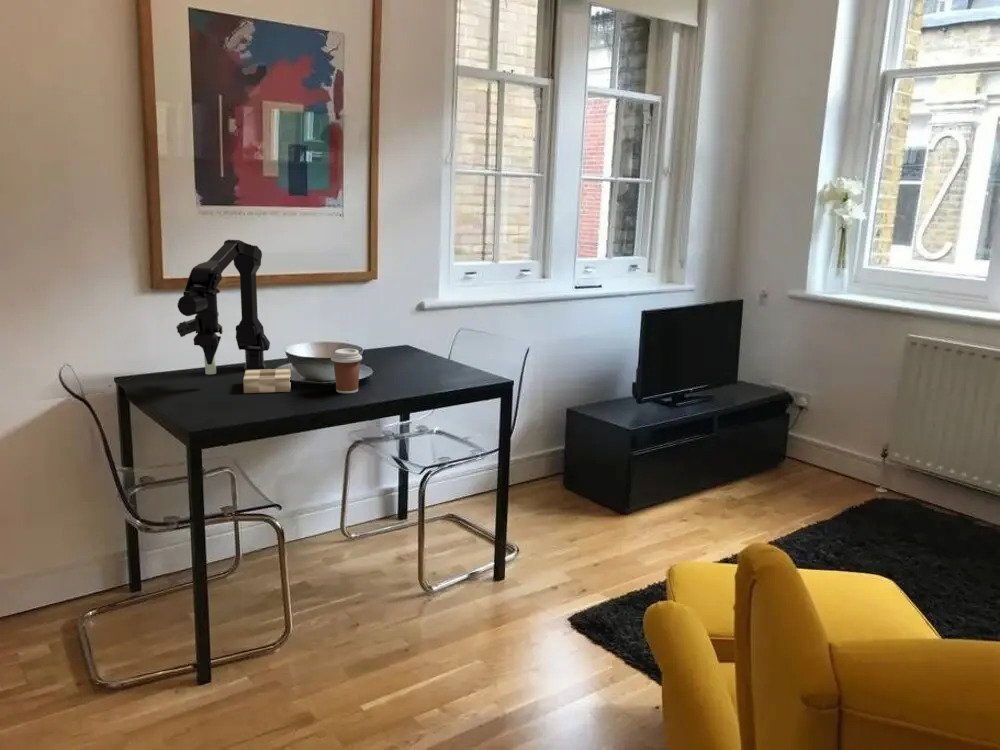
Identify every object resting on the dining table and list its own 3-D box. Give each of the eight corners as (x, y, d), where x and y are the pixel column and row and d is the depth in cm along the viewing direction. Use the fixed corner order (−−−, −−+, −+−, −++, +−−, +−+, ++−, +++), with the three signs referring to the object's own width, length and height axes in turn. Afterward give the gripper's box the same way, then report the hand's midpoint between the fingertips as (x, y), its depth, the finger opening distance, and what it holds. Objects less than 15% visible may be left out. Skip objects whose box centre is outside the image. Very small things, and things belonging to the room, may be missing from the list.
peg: (206, 372, 248) (204, 342, 246) (216, 371, 248) (215, 342, 246) (204, 374, 245) (203, 344, 243) (215, 374, 246) (213, 344, 243)
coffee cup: (365, 387, 253) (364, 348, 250) (359, 395, 245) (359, 354, 242) (335, 386, 254) (334, 347, 251) (328, 394, 245) (327, 353, 242)
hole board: (246, 382, 255) (245, 369, 254) (290, 381, 258) (290, 368, 257) (244, 393, 243) (243, 379, 242) (290, 391, 246) (289, 378, 245)
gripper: (181, 305, 249) (185, 356, 253) (172, 316, 232) (176, 371, 235) (221, 305, 252) (224, 355, 255) (215, 315, 234) (218, 370, 238)
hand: (210, 363), depth 246 cm, fingers closed on peg, 3 cm apart
